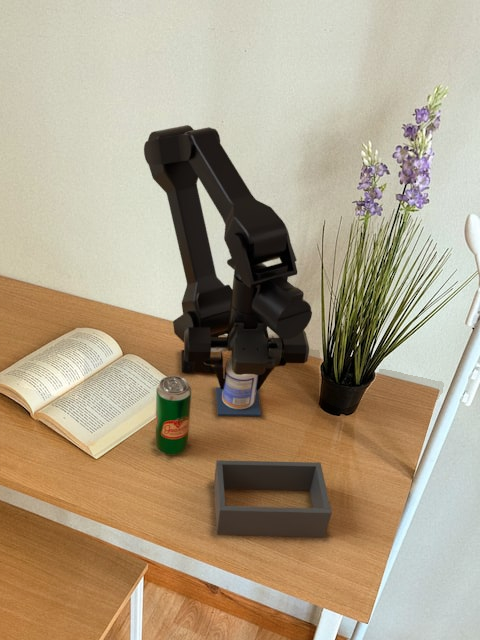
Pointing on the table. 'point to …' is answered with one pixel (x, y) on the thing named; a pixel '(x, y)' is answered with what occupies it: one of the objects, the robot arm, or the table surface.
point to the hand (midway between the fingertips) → (239, 388)
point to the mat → (227, 411)
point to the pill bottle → (238, 388)
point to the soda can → (172, 415)
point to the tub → (271, 518)
